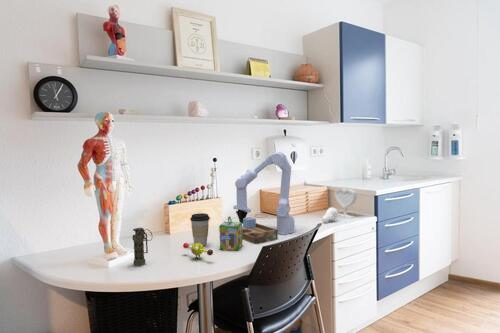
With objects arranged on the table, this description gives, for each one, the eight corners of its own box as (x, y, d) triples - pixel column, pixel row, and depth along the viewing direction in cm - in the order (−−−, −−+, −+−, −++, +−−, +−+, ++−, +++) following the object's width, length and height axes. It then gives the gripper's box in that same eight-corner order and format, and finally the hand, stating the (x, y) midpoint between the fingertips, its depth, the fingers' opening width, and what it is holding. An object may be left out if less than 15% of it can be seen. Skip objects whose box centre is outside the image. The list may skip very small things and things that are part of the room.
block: (250, 225, 191) (250, 217, 191) (255, 227, 187) (255, 218, 187) (243, 227, 188) (242, 218, 188) (248, 229, 184) (248, 219, 184)
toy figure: (179, 256, 151) (178, 241, 150) (188, 252, 155) (188, 238, 155) (206, 265, 139) (206, 248, 139) (216, 261, 144) (216, 245, 143)
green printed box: (238, 251, 157) (238, 219, 156) (219, 250, 159) (218, 218, 158) (243, 245, 166) (242, 214, 165) (224, 244, 168) (224, 214, 167)
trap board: (252, 230, 193) (252, 221, 192) (277, 239, 175) (277, 229, 175) (231, 234, 185) (231, 225, 184) (255, 244, 167) (255, 234, 166)
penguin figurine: (338, 207, 211) (326, 212, 204) (339, 220, 212) (327, 225, 205) (330, 206, 216) (318, 210, 209) (331, 219, 217) (319, 224, 210)
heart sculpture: (333, 214, 233) (334, 188, 232) (339, 213, 236) (339, 187, 234) (352, 218, 220) (352, 190, 219) (357, 217, 223) (357, 189, 222)
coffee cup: (187, 247, 163) (186, 216, 162) (196, 242, 172) (196, 212, 171) (204, 249, 160) (204, 217, 159) (213, 243, 169) (213, 213, 168)
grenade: (135, 268, 136) (133, 231, 135) (129, 264, 141) (127, 229, 140) (155, 263, 142) (154, 227, 141) (149, 259, 147) (148, 225, 146)
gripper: (228, 198, 196) (229, 222, 197) (243, 202, 184) (243, 226, 185) (239, 197, 200) (239, 220, 201) (253, 200, 188) (254, 224, 189)
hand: (242, 223), depth 193 cm, fingers closed
